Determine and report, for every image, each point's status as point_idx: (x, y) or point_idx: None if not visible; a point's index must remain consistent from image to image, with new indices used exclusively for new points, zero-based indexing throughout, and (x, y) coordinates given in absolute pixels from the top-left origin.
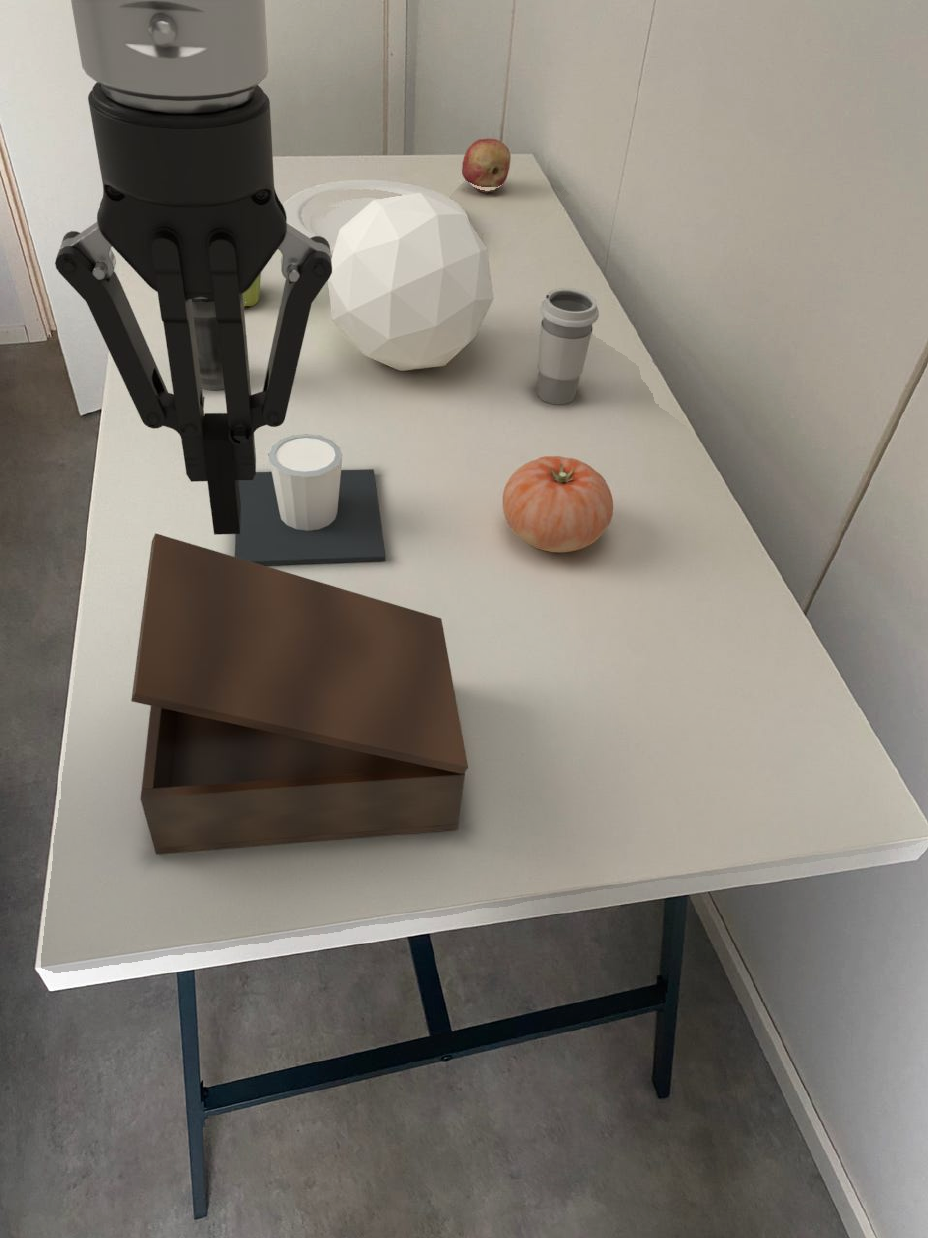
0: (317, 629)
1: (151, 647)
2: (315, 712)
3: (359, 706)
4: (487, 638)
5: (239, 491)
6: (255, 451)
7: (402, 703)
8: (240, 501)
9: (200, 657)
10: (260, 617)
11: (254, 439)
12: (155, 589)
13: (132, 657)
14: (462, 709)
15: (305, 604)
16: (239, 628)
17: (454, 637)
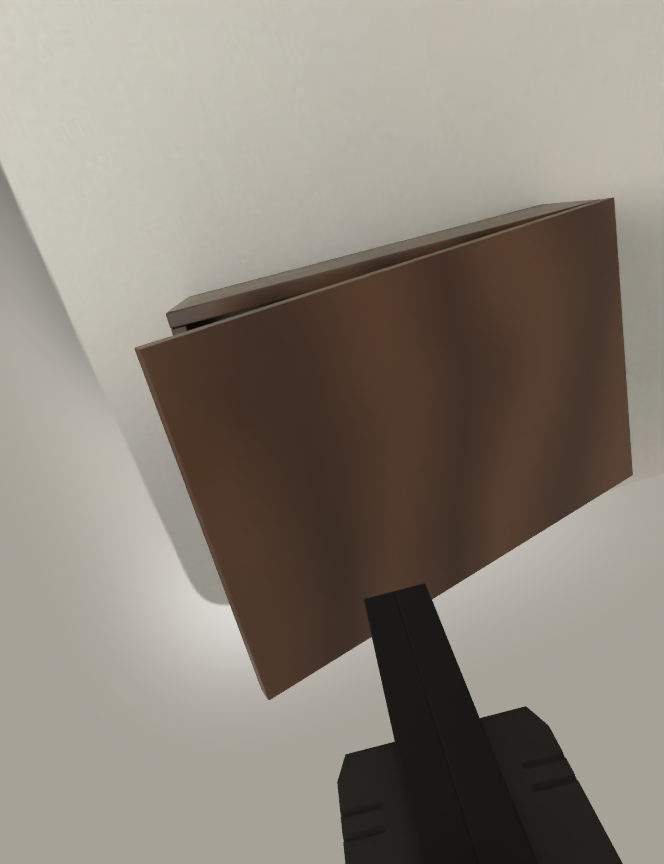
0: (455, 377)
1: (255, 614)
2: (475, 537)
3: (522, 482)
4: (625, 89)
5: (436, 613)
6: (560, 748)
7: (567, 432)
8: (428, 593)
9: (322, 572)
10: (376, 422)
11: (585, 795)
12: (208, 499)
13: (102, 228)
14: None
15: (430, 332)
16: (354, 471)
17: (574, 96)
